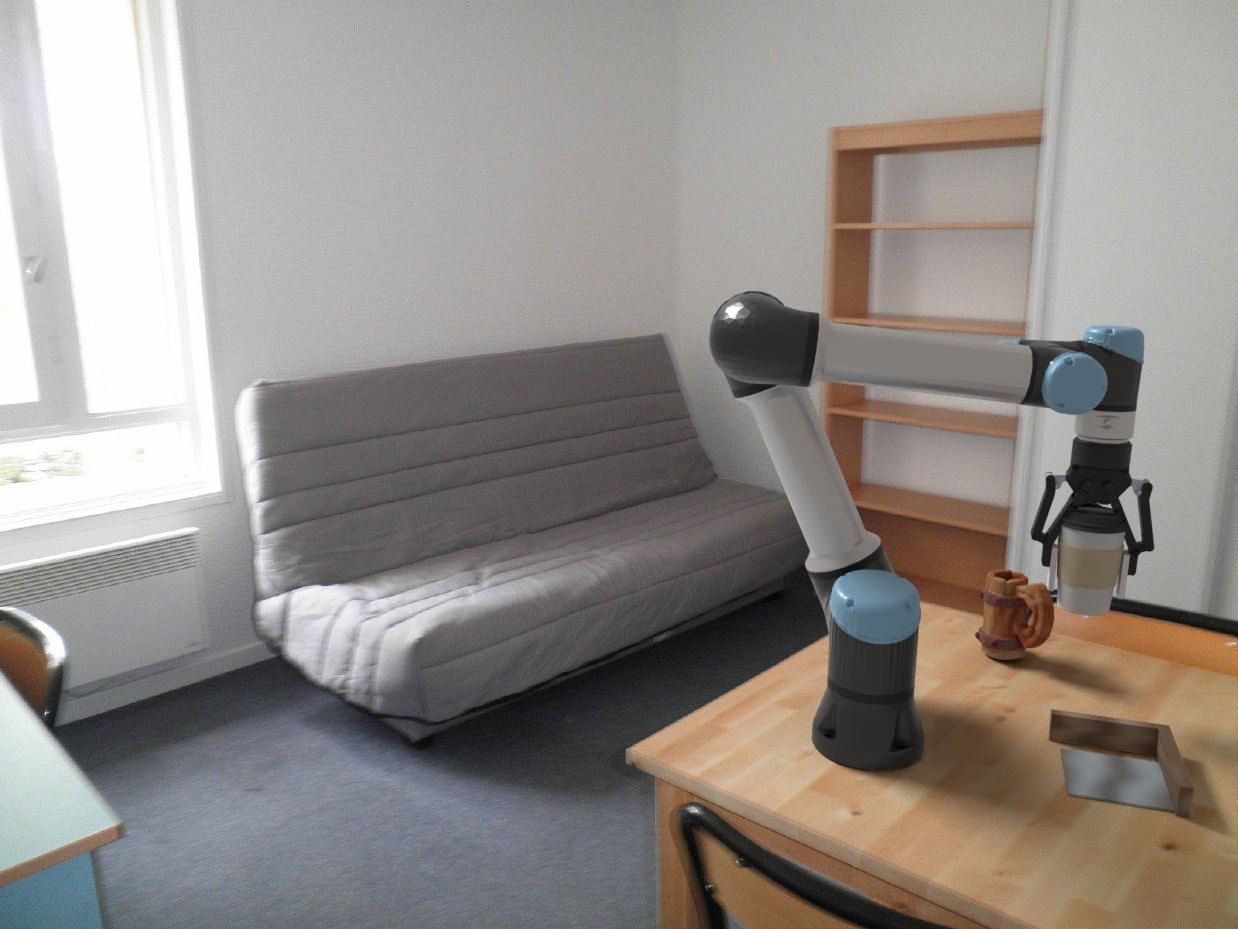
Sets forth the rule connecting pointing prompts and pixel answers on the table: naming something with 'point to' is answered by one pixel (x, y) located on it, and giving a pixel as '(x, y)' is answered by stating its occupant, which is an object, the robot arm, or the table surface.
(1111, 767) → the arena
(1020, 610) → the mug
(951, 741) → the table surface
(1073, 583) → the coffee cup
